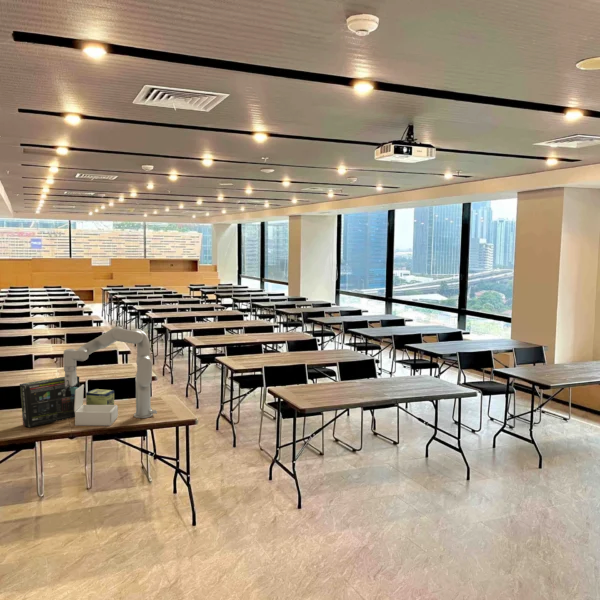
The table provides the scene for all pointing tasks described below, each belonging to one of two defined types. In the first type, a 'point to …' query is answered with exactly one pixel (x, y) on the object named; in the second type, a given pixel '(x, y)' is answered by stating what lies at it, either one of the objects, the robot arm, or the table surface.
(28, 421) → the router box
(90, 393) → the protein box
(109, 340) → the robot arm
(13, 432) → the table surface
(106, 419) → the white open box
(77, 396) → the flap
